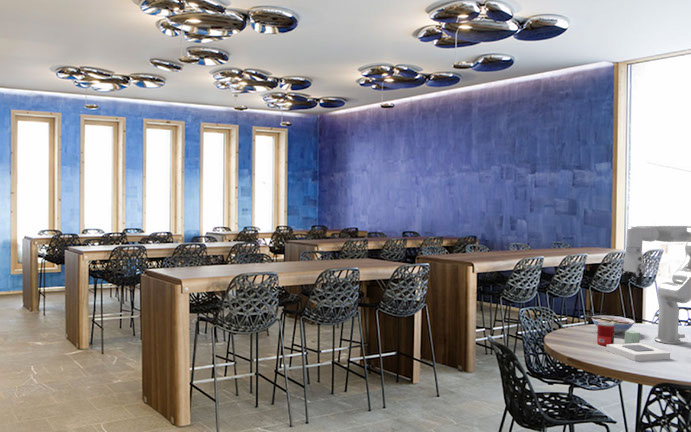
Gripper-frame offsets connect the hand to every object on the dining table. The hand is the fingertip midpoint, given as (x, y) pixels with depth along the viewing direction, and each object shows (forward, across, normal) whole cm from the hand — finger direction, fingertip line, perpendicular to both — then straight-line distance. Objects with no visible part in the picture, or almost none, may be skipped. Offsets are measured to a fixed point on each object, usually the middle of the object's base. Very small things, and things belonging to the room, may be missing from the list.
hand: (631, 283), depth 329 cm
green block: (+32, -3, 0) cm, 32 cm away
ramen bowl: (+32, +26, -11) cm, 43 cm away
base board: (+32, -20, +11) cm, 39 cm away
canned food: (+32, +1, +13) cm, 35 cm away
